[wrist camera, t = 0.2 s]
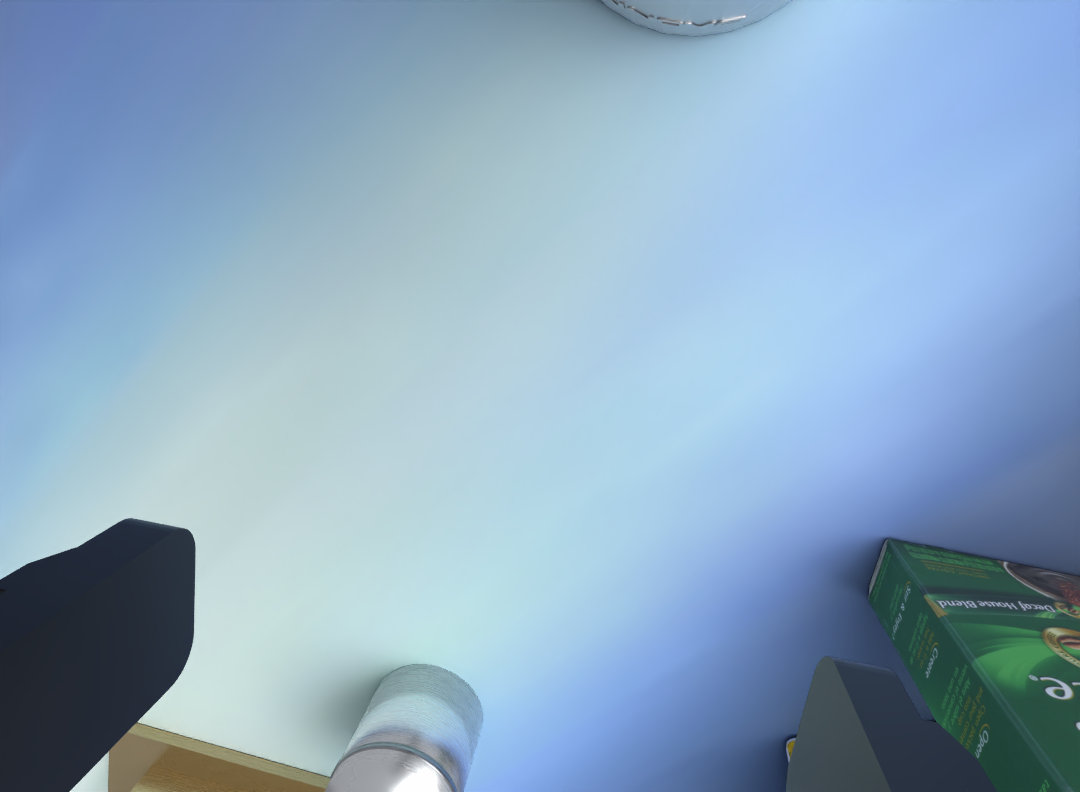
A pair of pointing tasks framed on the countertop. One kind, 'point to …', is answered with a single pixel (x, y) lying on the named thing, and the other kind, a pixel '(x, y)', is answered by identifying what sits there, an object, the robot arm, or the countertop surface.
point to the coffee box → (990, 657)
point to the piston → (413, 735)
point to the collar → (197, 767)
